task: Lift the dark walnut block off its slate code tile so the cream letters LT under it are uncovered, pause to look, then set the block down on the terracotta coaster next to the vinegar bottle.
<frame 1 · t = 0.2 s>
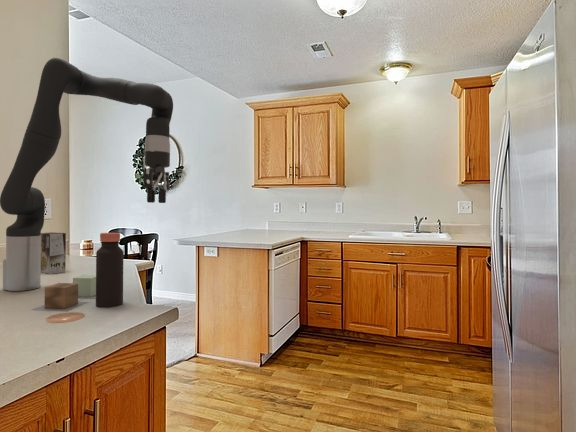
hand: (156, 202, 117), 29 cm above the countertop, tool pointing down, fingers open, 8 cm apart
sage block: (87, 294, 112), resting on code tile II
terracotta coaster: (65, 319, 89), on the countertop
code tile II: (87, 296, 112), on the countertop
walnut block: (61, 305, 99), resting on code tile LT
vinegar: (109, 306, 102), on the countertop
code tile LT: (61, 307, 99), on the countertop
coffee box: (52, 272, 152), on the countertop
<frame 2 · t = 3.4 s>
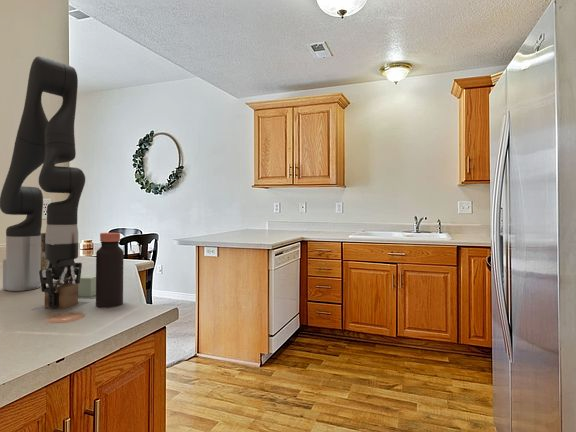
hand: (61, 303, 99), 1 cm above the countertop, tool pointing down, fingers closed on walnut block, 5 cm apart
walnut block: (61, 305, 99), resting on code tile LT, touching gripper
everything else where it was.
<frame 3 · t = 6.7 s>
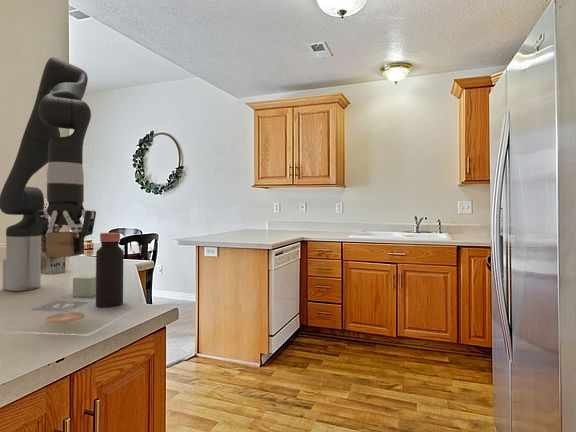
hand: (65, 253, 88), 16 cm above the countertop, tool pointing down, fingers closed on walnut block, 5 cm apart
walnut block: (65, 255, 88), point 15 cm above the countertop, touching gripper
everything else where it was.
when the fingers open (3 cm above the countertop, at t = 9.6 s): walnut block drops 2 cm, resting on terracotta coaster.
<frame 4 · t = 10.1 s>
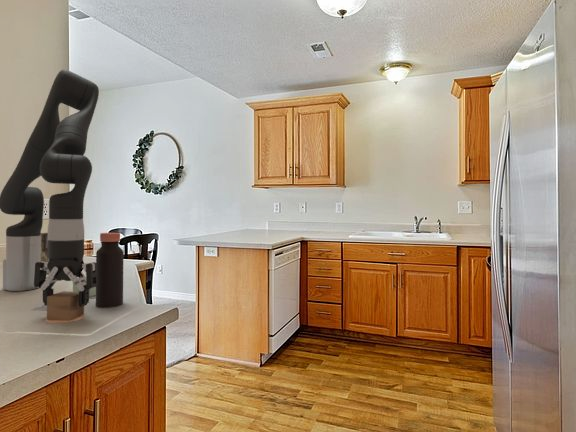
hand: (65, 305, 89), 3 cm above the countertop, tool pointing down, fingers open, 8 cm apart
walnut block: (65, 317, 89), point 1 cm above the countertop, touching terracotta coaster
everything else where it was.
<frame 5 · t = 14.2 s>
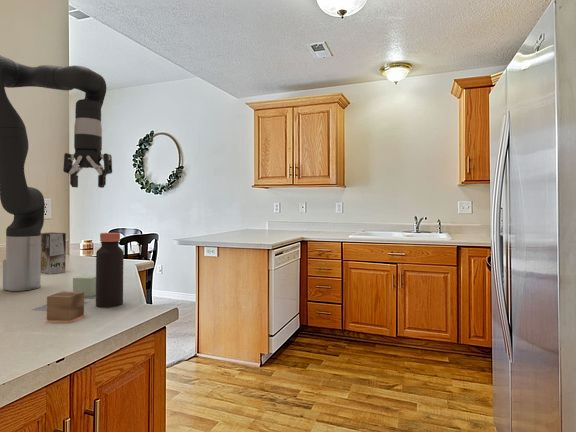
hand: (87, 187, 115), 33 cm above the countertop, tool pointing down, fingers open, 8 cm apart
nothing on the countertop moved.
at the end: walnut block inside the target area on the terracotta coaster (0.1 cm from its centre), point 0.6 cm above the terracotta coaster's base; walnut block tilted 0°; walnut block touching terracotta coaster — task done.
